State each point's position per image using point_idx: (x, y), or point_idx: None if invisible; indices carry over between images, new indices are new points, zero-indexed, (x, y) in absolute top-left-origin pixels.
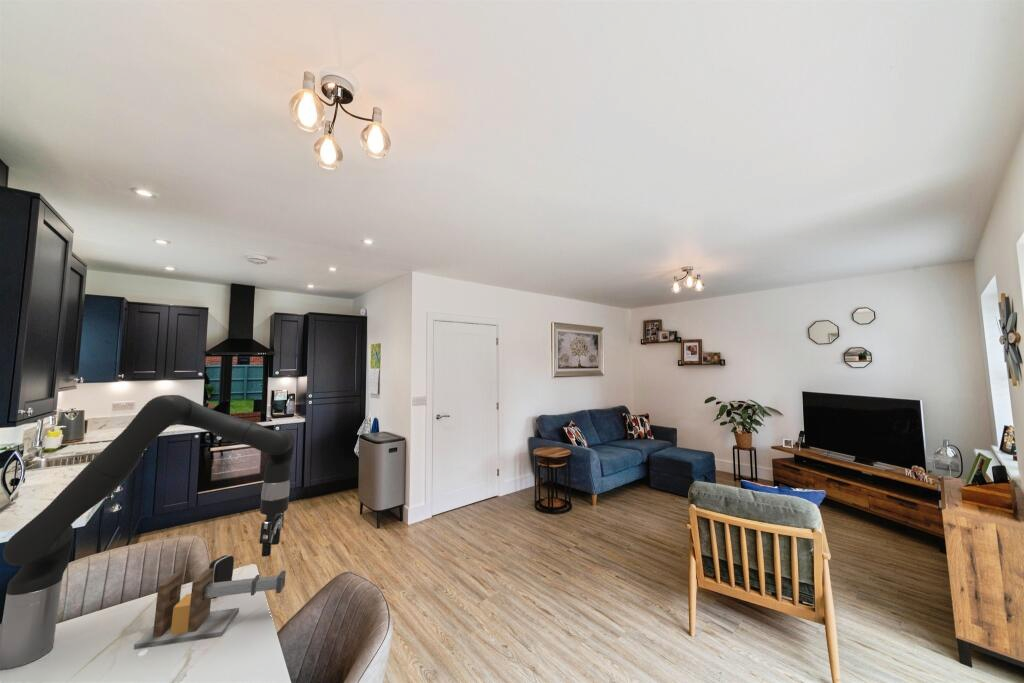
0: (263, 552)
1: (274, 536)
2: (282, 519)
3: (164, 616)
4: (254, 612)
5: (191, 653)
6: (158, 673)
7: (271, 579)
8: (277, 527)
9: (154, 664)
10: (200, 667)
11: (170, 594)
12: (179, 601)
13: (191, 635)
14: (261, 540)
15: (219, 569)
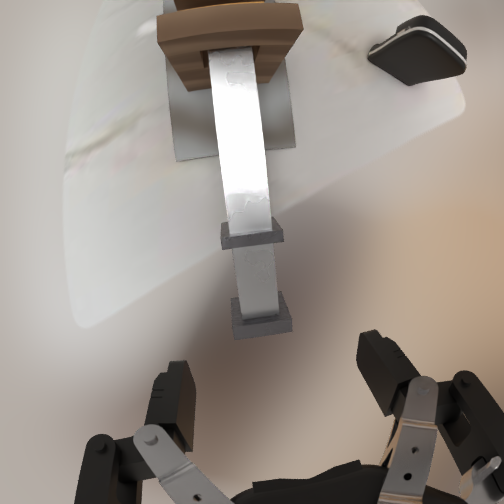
0: (154, 390)
1: (380, 378)
2: (453, 456)
3: (180, 6)
4: (282, 193)
5: (121, 132)
6: (72, 113)
7: (245, 298)
8: (385, 450)
9: (99, 81)
10: (78, 187)
11: None
12: (214, 5)
13: (170, 92)
14: (90, 460)
15: (415, 44)
